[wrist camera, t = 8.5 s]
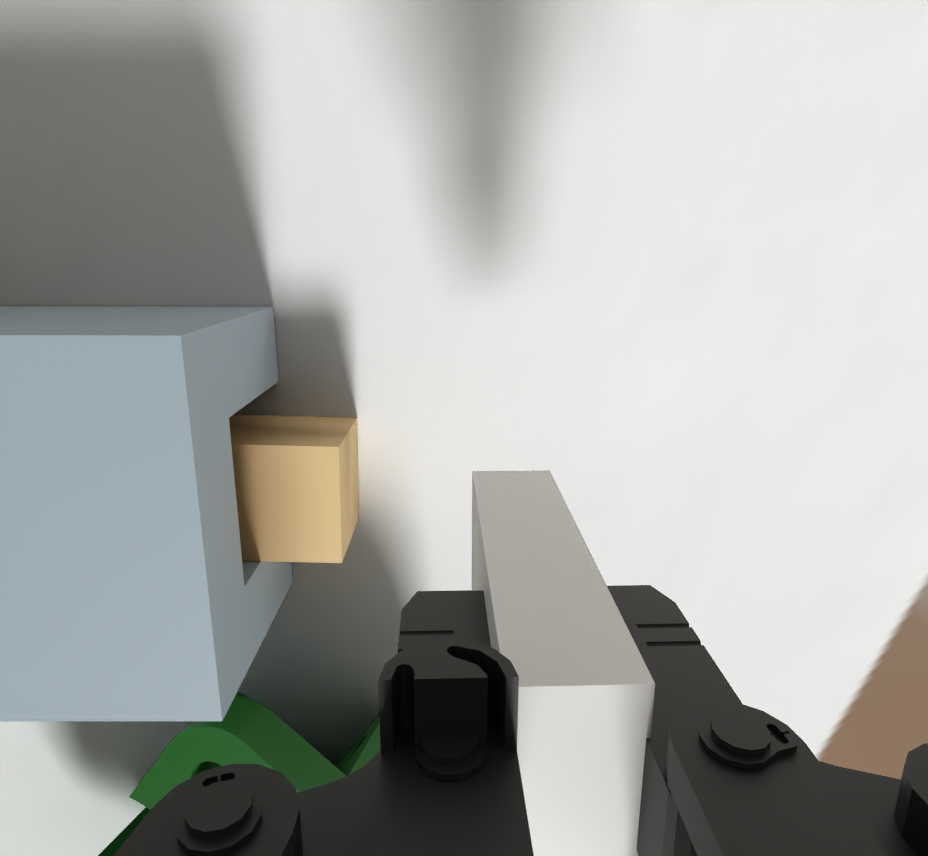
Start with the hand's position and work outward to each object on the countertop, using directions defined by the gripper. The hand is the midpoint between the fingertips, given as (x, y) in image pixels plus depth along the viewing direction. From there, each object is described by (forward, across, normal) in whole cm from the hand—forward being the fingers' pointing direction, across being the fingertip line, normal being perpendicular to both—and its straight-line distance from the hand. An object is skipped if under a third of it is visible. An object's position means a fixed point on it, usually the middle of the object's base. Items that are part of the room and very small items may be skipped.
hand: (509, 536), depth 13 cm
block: (+6, -10, 0) cm, 11 cm away
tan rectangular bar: (+6, -7, 0) cm, 10 cm away
